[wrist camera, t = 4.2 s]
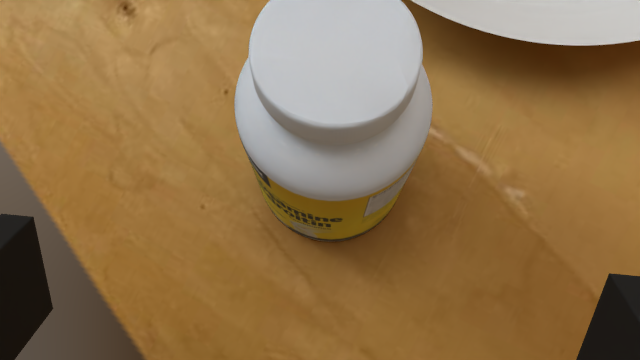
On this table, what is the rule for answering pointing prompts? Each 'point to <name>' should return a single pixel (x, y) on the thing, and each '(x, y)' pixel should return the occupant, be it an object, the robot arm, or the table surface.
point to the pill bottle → (333, 111)
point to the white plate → (547, 19)
